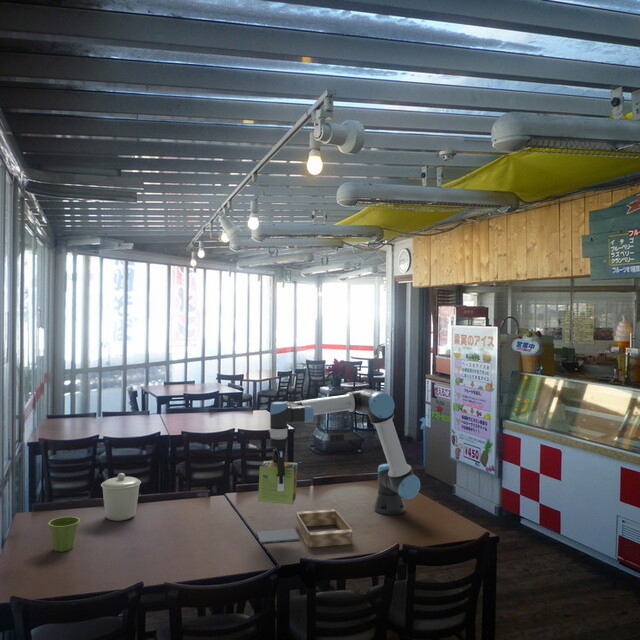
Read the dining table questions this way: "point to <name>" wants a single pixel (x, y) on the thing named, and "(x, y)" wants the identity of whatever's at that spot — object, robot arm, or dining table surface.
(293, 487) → the protein box
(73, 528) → the plant pot
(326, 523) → the open wooden box
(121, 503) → the canister
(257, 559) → the dining table surface
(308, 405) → the robot arm
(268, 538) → the mat
